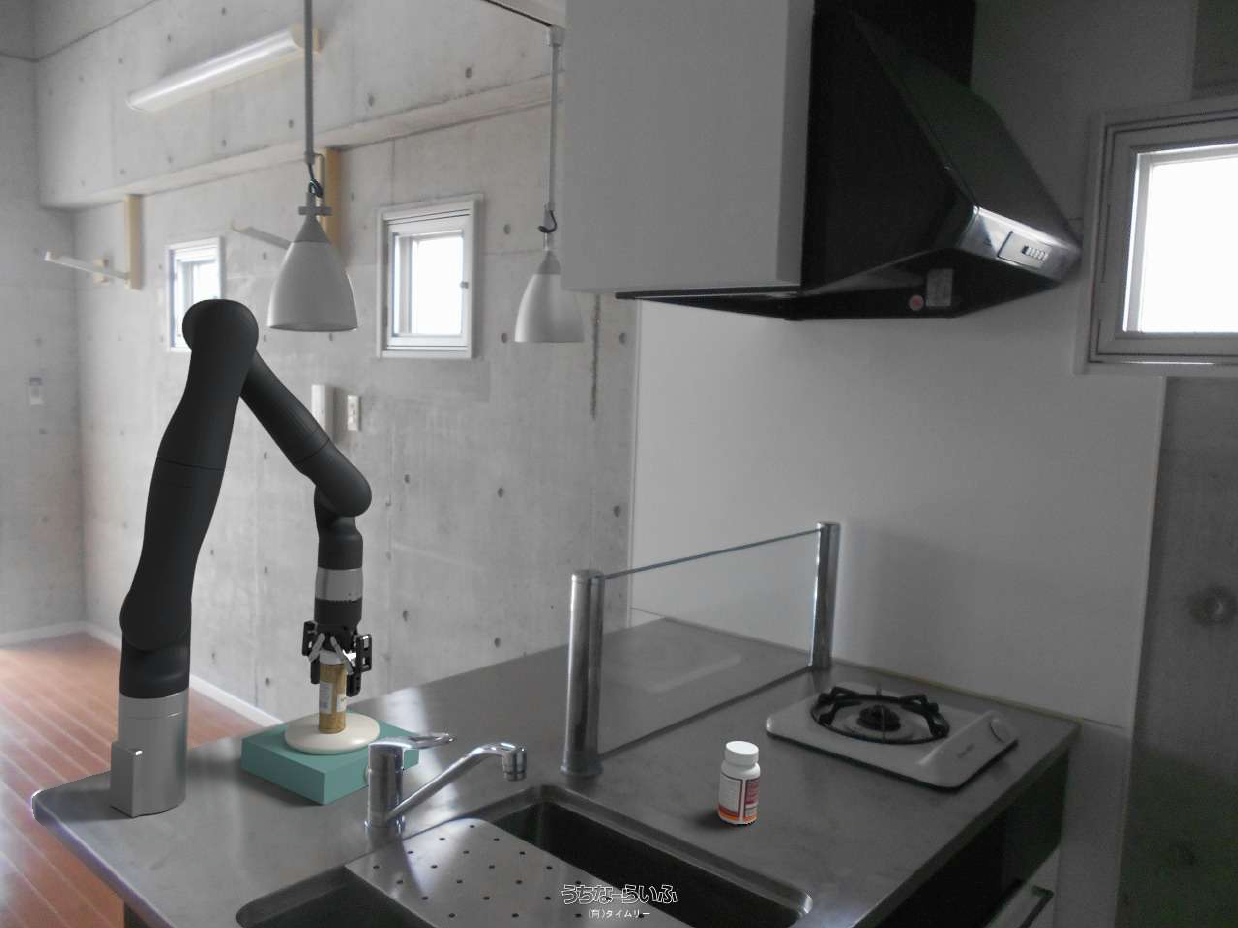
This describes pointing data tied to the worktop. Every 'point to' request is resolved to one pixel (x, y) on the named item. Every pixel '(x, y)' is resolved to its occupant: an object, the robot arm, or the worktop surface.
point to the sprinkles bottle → (332, 693)
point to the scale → (313, 764)
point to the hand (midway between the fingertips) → (334, 689)
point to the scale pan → (331, 735)
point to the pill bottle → (739, 783)
